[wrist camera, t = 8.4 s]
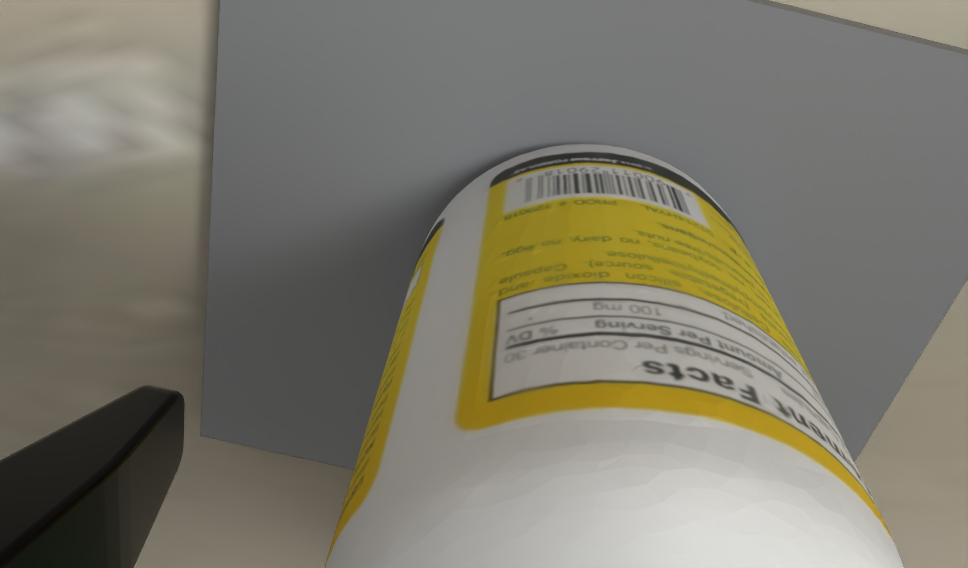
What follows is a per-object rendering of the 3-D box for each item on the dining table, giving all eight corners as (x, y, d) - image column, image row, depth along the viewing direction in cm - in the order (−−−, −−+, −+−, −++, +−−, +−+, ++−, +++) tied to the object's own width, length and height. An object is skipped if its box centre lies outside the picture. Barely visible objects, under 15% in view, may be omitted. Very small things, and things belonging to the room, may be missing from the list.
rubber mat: (1062, 73, 11) (1087, 85, 11) (782, 542, 16) (789, 566, 16) (241, -132, 11) (225, -130, 10) (212, 415, 16) (200, 435, 15)
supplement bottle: (545, 463, 15) (534, 1290, 6) (352, 259, 13) (-26, 1041, 5) (810, 323, 13) (1297, 1240, 4) (628, 59, 11) (872, 771, 3)
